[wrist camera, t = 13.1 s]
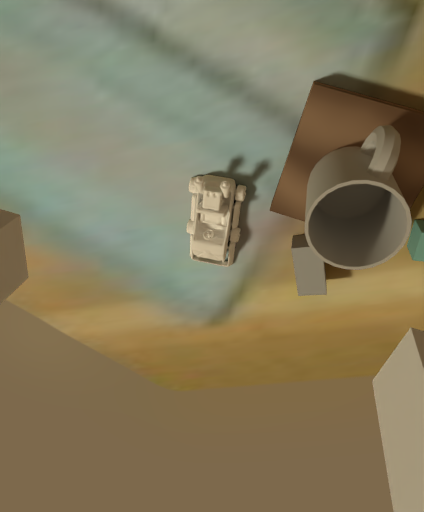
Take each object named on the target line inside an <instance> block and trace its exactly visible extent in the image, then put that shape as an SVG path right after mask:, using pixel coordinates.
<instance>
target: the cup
mask: <svg viewBox="0 0 424 512" xmlns="http://www.w3.org/2000/svg"><path fill="white" fill-rule="evenodd" d="M400 145H401V138H400V134H399V133H398V131H397V130H396V129H395V128H394V127H392V126H391V125H384V126H378V127H377V128H375V129H374V130H373V131H372V132H371V134H370V135H369V136H368V137H367V138H366V140H365V142H364V143H363V145H362V147H357V146H354V147H343V148H340V149H337V150H334V151H332V152H330V153H328V154H327V155H325V156H324V157H323V158H322V159H321V160H320V161H319V162H318V163H317V164H316V165H315V167H314V168H313V170H312V171H311V173H310V177H309V180H308V184H307V197H306V212H305V236H306V239H307V242H308V245H309V246H310V248H311V249H312V251H313V252H314V254H315V255H317V256H318V257H319V258H320V259H321V260H322V261H324V262H326V263H328V264H330V265H332V266H334V267H338V268H343V269H352V270H360V269H366V268H371V267H374V266H377V265H379V264H382V263H384V262H386V261H387V260H389V259H390V258H392V257H393V256H394V255H396V254H397V253H398V251H399V250H400V249H401V248H402V247H403V246H404V245H405V243H406V240H407V238H408V236H409V234H410V230H411V224H412V219H411V214H410V209H409V207H408V205H407V203H406V201H405V199H404V197H403V195H402V193H401V191H400V189H399V187H398V185H397V183H396V181H395V179H394V177H393V175H392V172H393V170H394V168H395V166H396V164H397V161H398V157H399V153H400Z"/></svg>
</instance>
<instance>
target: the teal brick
mask: <svg viewBox="0 0 424 512" xmlns="http://www.w3.org/2000/svg"><path fill="white" fill-rule="evenodd" d="M407 247H408V250H409V252H410V254H411V257H412V259H413V260H415V261H424V220H417V219H415V221H414V224H413V228H412V231H411V234H410V238H409V241H408V244H407Z"/></svg>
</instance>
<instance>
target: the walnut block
mask: <svg viewBox="0 0 424 512" xmlns="http://www.w3.org/2000/svg"><path fill="white" fill-rule="evenodd" d="M384 125H391V126H392V127H394V128H395V129H396V130H397V131H398V133H399V134H400V138H401V145H400V153H399V157H398V161H397V164H396V166H395V168H394V170H393V172H392V175H393V177H394V179H395V181H396V183H397V185H398V187H399V189H400V191H401V193H402V195H403V197H404V199H405V201H406V203H407V205H408V207H409V209H410V208H411V206H412V204H413V203H414V201H415V199H416V198H417V196H418V194H419V192H420V191H421V189H422V187H423V186H424V112H423V111H420V110H416V109H412V108H409V107H405V106H402V105H398V104H395V103H391V102H387V101H384V100H380V99H377V98H373V97H370V96H366V95H362V94H359V93H355V92H352V91H348V90H345V89H341V88H337V87H334V86H330V85H327V84H323V83H320V82H316V81H314V82H313V85H312V87H311V90H310V93H309V96H308V99H307V102H306V105H305V108H304V111H303V114H302V116H301V119H300V122H299V125H298V128H297V131H296V134H295V137H294V140H293V142H292V145H291V148H290V151H289V154H288V157H287V160H286V163H285V166H284V169H283V171H282V174H281V177H280V180H279V183H278V186H277V189H276V192H275V195H274V197H273V200H272V203H271V207H270V211H273V212H276V213H279V214H282V215H286V216H289V217H292V218H295V219H298V220H302V221H305V212H306V197H307V184H308V180H309V177H310V173H311V171H312V170H313V168H314V167H315V165H316V164H317V163H318V162H319V161H320V160H321V159H322V158H323V157H324V156H325V155H327V154H328V153H330V152H332V151H334V150H337V149H340V148H343V147H354V146H357V147H362V145H363V143H364V142H365V140H366V138H367V137H368V136H369V135H370V134H371V132H372V131H373V130H374V129H375V128H377V127H378V126H384Z"/></svg>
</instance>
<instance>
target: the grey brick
mask: <svg viewBox="0 0 424 512" xmlns="http://www.w3.org/2000/svg"><path fill="white" fill-rule="evenodd" d="M291 249H292V256H293V262H294V269H295V276H296V283H297V290H298V296H303V295H326V294H327V289H326V273H325V263H324V261H322V260H321V259H320V258H319V257H318V256H317V255H315V254H314V252H313V251H312V249H311V248H310V246H309V245H308V242H307V239H306V236H305V235H295V236H293V239H292V248H291Z"/></svg>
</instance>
